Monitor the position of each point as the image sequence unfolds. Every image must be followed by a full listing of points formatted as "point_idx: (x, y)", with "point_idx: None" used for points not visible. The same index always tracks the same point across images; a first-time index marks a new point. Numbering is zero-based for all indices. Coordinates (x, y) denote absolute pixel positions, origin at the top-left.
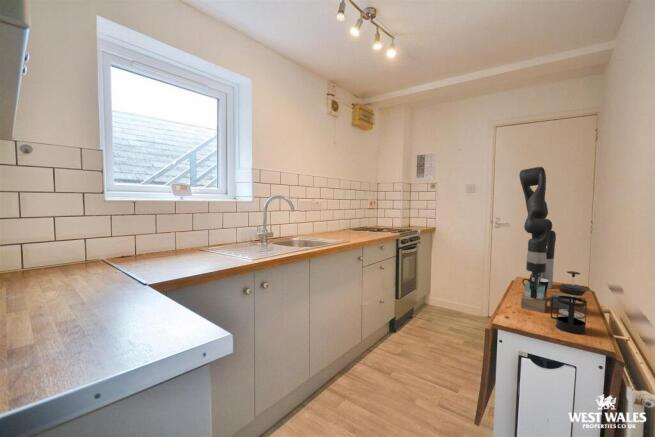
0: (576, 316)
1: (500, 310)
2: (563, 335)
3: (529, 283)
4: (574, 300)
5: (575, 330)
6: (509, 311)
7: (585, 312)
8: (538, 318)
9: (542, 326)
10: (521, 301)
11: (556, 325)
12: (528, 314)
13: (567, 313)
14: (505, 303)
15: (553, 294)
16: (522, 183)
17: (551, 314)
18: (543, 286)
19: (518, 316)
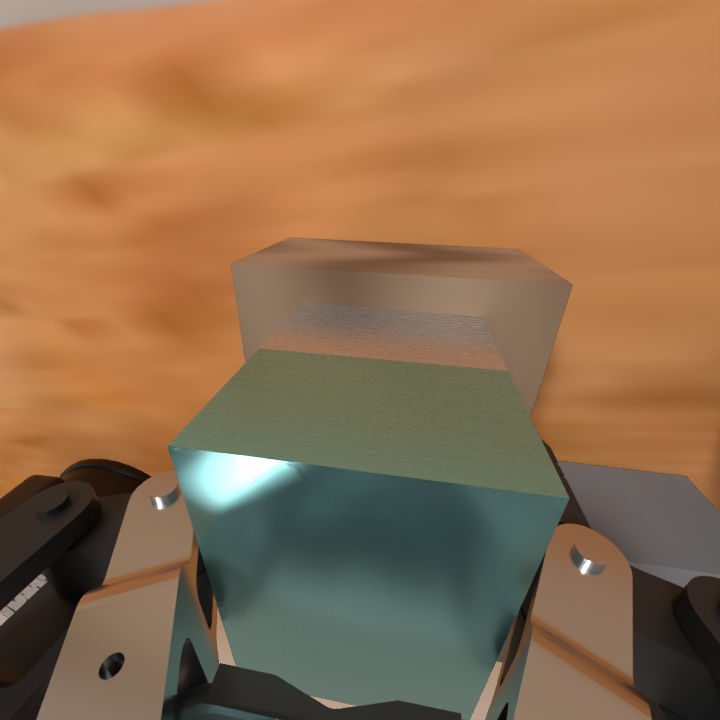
0: (6, 613)
1: (4, 37)
2: (10, 476)
3: (418, 539)
4: None
5: None
6: (74, 147)
7: None
8: (136, 382)
9: (19, 402)
10: (256, 254)
11: (84, 467)
12: (157, 318)
13: (28, 587)
14: (334, 8)
15: (674, 579)
16: None
17: (3, 499)
18: (327, 694)
19: (32, 252)
